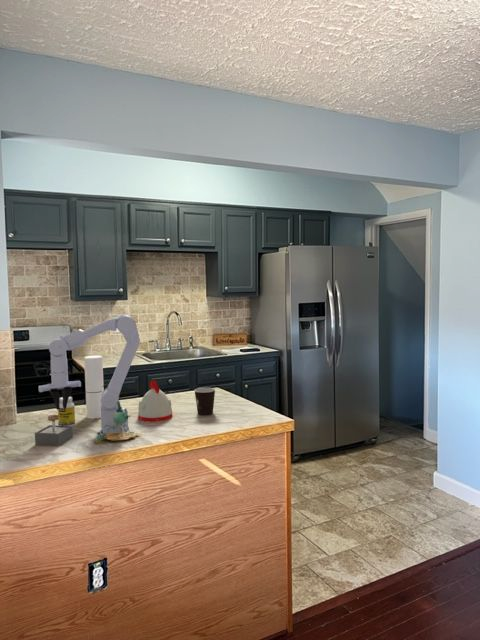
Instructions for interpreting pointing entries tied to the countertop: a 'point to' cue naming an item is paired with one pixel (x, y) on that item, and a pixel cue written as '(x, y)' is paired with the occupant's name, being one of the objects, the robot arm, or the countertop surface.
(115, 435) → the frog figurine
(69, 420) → the pill bottle
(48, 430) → the plunger
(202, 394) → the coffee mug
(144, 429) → the countertop surface
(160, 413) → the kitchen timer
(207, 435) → the countertop surface
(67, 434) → the gray open box
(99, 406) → the cylindrical container
